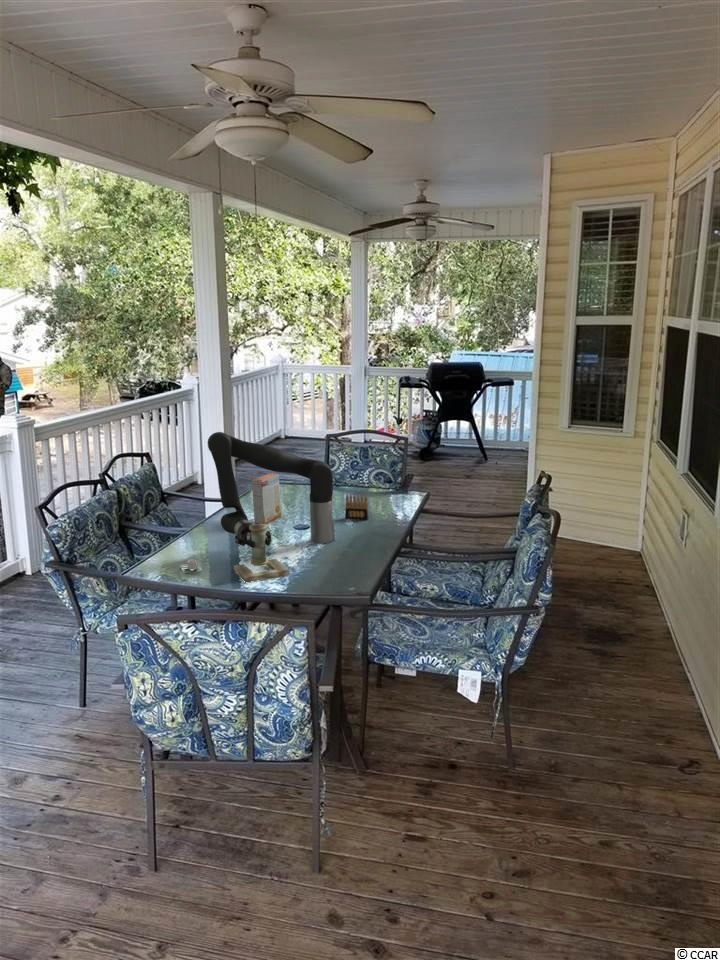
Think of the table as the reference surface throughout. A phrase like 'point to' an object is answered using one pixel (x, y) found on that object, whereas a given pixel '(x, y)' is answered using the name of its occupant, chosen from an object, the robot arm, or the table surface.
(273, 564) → the tan u-shaped bracket
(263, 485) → the cracker box
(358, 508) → the ammunition clip
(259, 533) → the bobbin
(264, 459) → the robot arm
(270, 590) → the table surface
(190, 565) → the white curved piece
